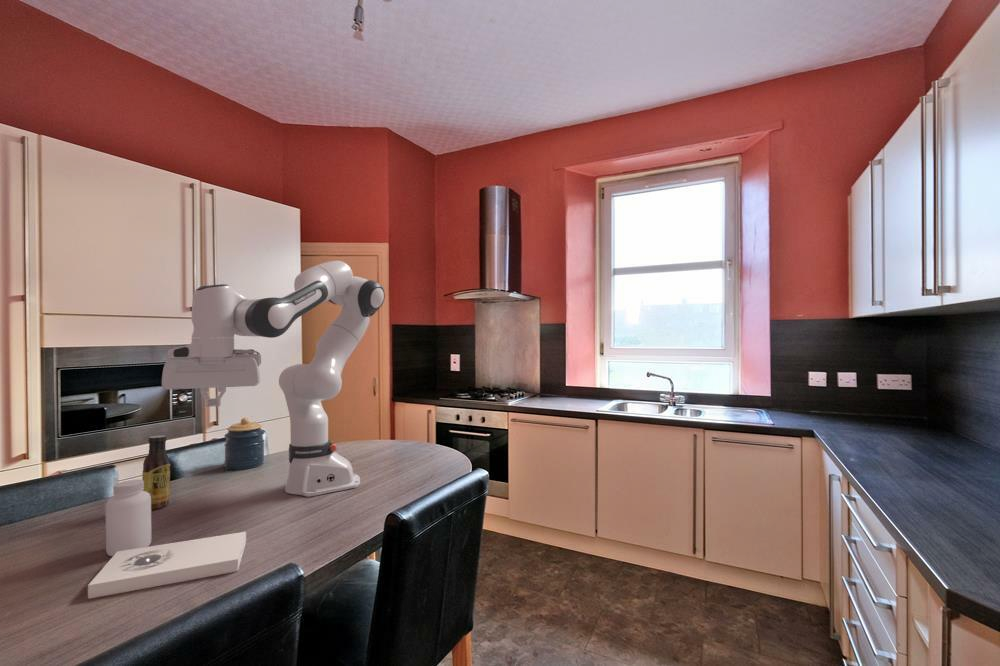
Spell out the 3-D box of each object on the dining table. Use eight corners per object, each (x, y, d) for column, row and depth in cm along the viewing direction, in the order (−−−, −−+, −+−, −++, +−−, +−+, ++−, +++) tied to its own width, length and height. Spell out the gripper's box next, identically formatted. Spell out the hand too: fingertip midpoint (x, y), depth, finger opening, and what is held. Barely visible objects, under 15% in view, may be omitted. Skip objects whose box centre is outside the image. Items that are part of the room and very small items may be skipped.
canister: (234, 460, 173) (234, 415, 173) (270, 459, 174) (270, 414, 174) (217, 471, 160) (217, 421, 160) (255, 469, 161) (255, 420, 161)
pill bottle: (123, 541, 105) (123, 477, 105) (159, 540, 106) (159, 476, 106) (95, 558, 97) (95, 489, 97) (135, 556, 98) (135, 488, 98)
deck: (246, 542, 105) (246, 531, 105) (237, 571, 92) (237, 559, 92) (117, 563, 95) (117, 551, 95) (87, 598, 82) (87, 585, 82)
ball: (139, 553, 92) (133, 569, 92) (134, 559, 90) (128, 576, 89) (157, 554, 94) (151, 570, 93) (153, 561, 91) (147, 577, 90)
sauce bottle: (154, 512, 123) (154, 439, 123) (135, 510, 124) (135, 438, 124) (175, 503, 129) (175, 434, 129) (157, 501, 130) (158, 433, 130)
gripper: (262, 348, 117) (262, 401, 117) (167, 350, 109) (167, 406, 109) (259, 349, 111) (259, 405, 111) (159, 350, 103) (159, 410, 103)
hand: (213, 406), depth 110 cm, fingers closed
